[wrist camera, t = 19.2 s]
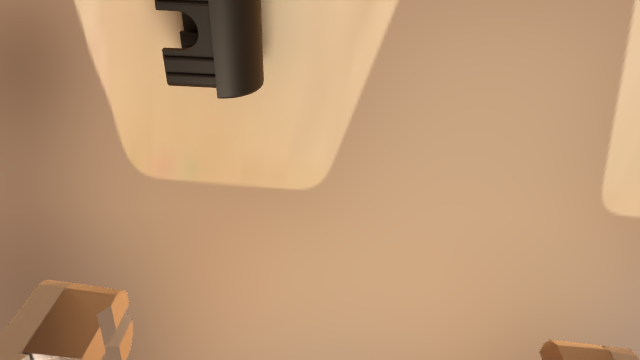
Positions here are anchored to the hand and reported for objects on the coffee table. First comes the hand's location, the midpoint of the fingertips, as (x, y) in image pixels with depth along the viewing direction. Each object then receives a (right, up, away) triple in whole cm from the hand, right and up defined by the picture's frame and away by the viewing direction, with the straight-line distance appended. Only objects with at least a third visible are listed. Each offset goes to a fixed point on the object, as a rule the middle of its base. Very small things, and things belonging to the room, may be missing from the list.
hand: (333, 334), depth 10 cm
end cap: (-8, +17, +32) cm, 37 cm away
